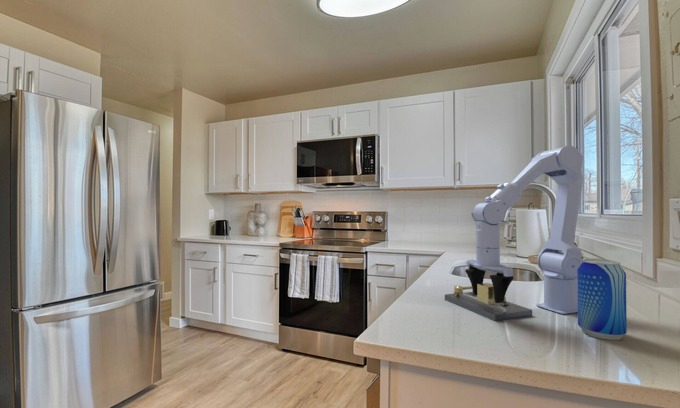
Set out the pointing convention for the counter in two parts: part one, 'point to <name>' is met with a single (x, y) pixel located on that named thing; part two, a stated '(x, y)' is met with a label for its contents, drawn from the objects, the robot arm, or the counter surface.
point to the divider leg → (486, 293)
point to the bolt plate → (486, 305)
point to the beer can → (602, 299)
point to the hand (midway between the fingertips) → (488, 298)
